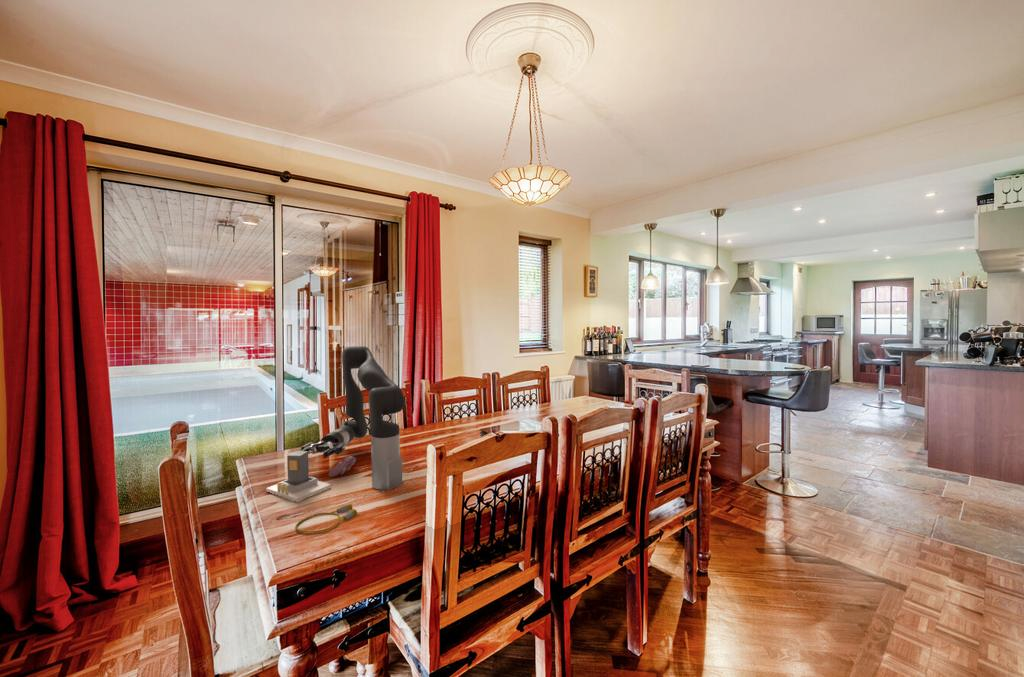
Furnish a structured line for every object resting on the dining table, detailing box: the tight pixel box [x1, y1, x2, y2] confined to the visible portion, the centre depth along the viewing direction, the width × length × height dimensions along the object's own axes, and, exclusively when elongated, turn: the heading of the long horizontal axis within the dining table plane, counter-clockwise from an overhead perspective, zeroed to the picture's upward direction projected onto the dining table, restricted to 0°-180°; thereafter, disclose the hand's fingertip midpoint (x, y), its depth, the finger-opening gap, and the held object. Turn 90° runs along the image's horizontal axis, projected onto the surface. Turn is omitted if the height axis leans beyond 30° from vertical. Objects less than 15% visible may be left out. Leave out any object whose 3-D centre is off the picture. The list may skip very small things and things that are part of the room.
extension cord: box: [294, 503, 358, 535], centre depth 114 cm, size 12×16×2 cm
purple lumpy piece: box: [328, 455, 357, 478], centre depth 149 cm, size 10×5×7 cm, turn 169°
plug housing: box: [286, 450, 310, 486], centre depth 134 cm, size 4×5×11 cm
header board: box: [265, 475, 332, 503], centre depth 134 cm, size 16×12×4 cm
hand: (312, 455), depth 143 cm, fingers open, 8 cm apart
